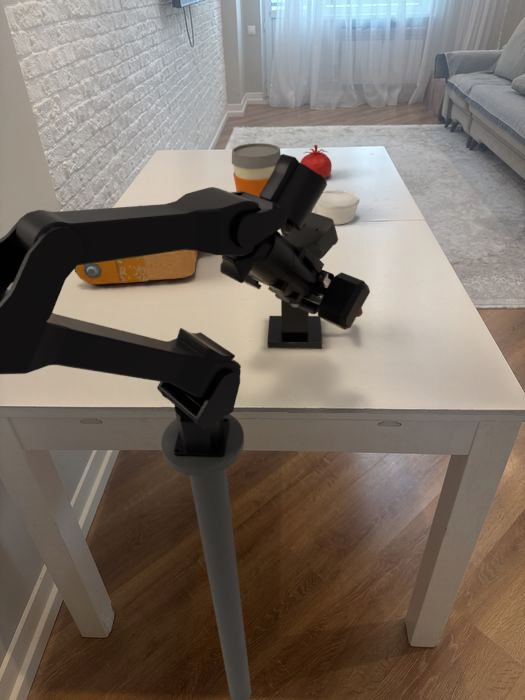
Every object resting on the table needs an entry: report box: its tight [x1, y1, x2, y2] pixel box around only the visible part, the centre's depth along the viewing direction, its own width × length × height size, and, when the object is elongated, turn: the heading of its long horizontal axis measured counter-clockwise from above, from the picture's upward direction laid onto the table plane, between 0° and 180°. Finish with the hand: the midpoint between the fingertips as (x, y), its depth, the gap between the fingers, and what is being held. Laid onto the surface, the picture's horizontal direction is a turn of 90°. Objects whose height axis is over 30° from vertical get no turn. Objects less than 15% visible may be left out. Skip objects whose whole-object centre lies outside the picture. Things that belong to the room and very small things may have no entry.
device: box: [73, 250, 199, 286], centre depth 105 cm, size 23×8×30 cm
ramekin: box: [314, 190, 360, 226], centre depth 122 cm, size 11×11×5 cm
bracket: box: [266, 300, 323, 349], centre depth 81 cm, size 9×8×10 cm
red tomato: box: [299, 144, 333, 179], centre depth 147 cm, size 10×10×9 cm
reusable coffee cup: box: [231, 142, 282, 197], centre depth 126 cm, size 13×13×15 cm
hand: (324, 303), depth 72 cm, fingers closed
